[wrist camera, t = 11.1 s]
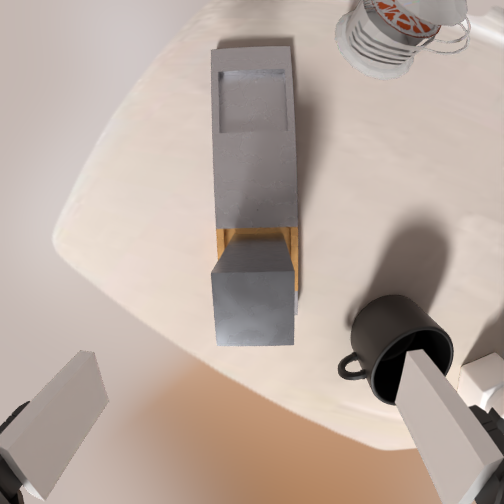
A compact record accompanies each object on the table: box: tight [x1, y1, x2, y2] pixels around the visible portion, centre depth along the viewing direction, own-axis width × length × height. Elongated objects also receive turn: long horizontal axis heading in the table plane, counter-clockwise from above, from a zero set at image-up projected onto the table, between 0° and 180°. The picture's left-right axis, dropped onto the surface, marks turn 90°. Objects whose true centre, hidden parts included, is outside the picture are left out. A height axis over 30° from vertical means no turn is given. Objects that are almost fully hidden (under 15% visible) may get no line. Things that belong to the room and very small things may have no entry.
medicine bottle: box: [457, 352, 504, 434], centre depth 31 cm, size 7×7×12 cm
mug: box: [338, 295, 454, 405], centre depth 31 cm, size 9×12×9 cm
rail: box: [211, 46, 298, 315], centre depth 31 cm, size 8×28×2 cm, turn 2°
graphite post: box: [211, 233, 295, 346], centre depth 26 cm, size 5×5×14 cm
